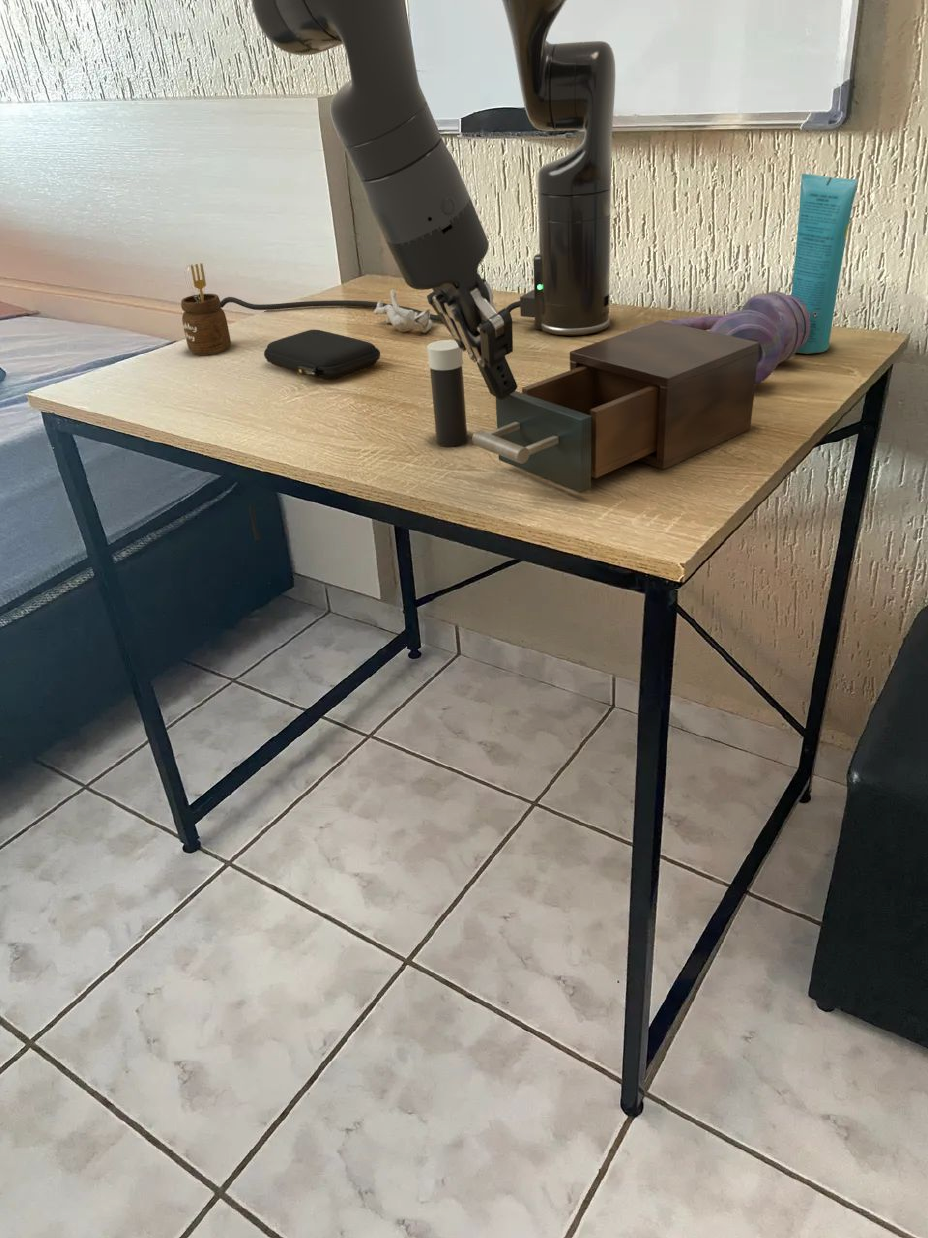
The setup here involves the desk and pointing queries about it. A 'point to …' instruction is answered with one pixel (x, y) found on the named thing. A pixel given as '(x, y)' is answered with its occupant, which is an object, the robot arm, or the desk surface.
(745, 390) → the cabinet
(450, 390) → the bottle
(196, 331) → the utensil holder
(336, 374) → the carrying case
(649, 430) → the drawer
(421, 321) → the grey animal figurine
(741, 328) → the headphones
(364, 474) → the desk surface
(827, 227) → the tube
